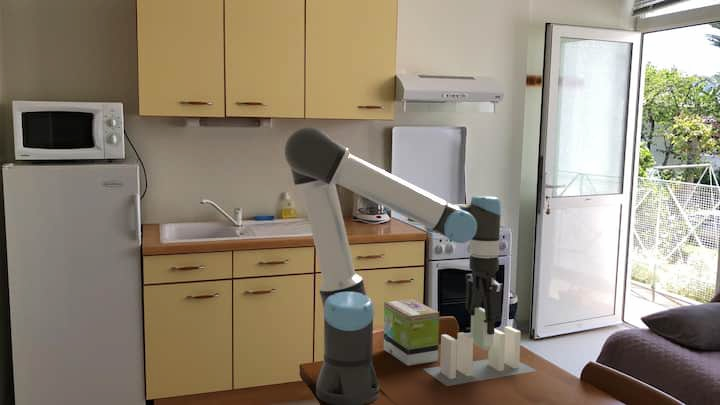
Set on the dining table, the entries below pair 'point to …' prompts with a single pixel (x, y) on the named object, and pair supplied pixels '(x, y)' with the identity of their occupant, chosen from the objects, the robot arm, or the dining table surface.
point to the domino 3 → (497, 351)
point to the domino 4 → (512, 347)
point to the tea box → (411, 331)
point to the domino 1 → (448, 356)
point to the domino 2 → (464, 353)
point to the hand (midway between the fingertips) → (481, 342)
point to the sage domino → (479, 328)
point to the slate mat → (478, 373)
